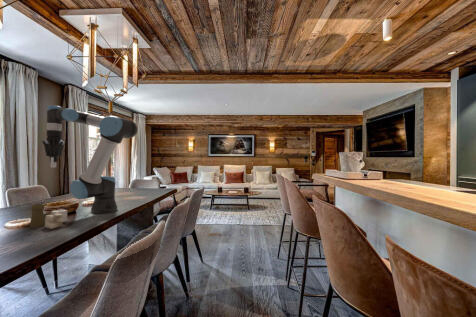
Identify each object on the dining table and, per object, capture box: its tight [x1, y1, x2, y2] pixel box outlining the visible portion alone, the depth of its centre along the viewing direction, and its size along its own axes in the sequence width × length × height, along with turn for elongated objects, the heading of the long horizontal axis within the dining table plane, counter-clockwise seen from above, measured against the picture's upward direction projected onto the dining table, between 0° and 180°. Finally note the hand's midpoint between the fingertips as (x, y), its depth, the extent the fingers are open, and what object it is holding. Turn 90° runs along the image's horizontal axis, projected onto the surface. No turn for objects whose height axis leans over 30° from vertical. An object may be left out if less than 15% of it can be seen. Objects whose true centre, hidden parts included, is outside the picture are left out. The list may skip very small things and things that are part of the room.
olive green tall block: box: [29, 203, 45, 228], centre depth 117 cm, size 6×6×11 cm
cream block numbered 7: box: [51, 209, 68, 223], centre depth 125 cm, size 5×5×6 cm
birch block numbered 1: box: [44, 213, 63, 229], centre depth 116 cm, size 5×5×6 cm
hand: (53, 167), depth 145 cm, fingers closed
